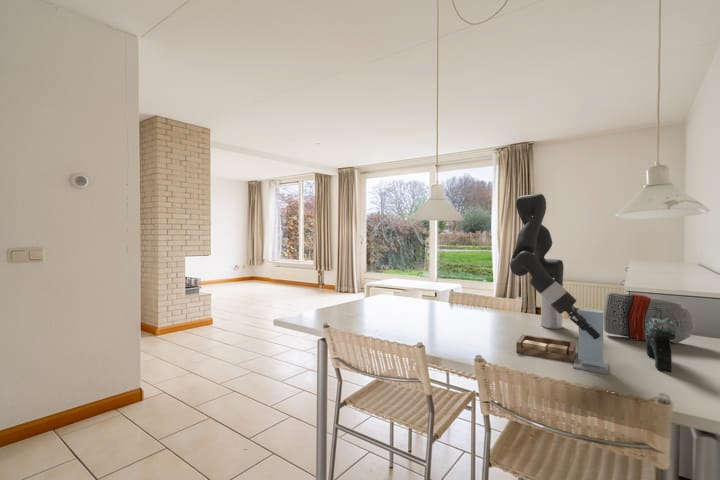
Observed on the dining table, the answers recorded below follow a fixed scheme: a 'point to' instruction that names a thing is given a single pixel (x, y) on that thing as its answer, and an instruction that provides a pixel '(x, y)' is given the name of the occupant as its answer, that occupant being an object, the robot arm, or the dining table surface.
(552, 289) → the robot arm
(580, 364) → the mat
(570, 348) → the rack
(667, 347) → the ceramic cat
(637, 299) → the grey red knit hat
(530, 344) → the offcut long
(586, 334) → the pale blue tall prism
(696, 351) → the dining table surface
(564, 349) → the offcut short
